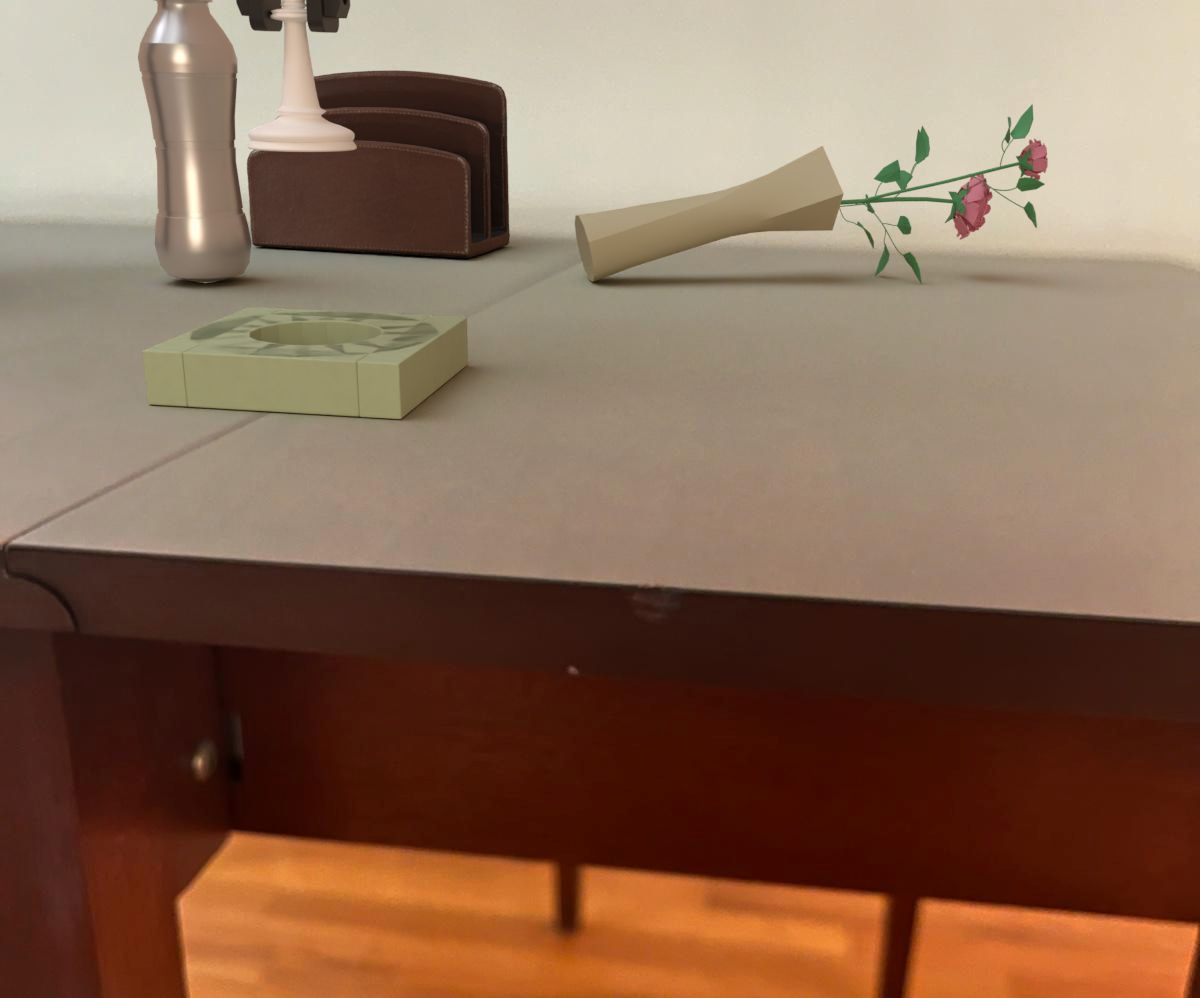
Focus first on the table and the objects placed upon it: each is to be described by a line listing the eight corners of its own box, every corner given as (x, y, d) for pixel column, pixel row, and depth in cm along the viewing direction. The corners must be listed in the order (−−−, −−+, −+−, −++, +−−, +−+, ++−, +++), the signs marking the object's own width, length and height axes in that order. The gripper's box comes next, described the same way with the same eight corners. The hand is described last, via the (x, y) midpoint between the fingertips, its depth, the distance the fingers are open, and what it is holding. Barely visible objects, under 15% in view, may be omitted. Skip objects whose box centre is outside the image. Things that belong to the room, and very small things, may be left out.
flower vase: (601, 371, 103) (1012, 265, 108) (627, 355, 91) (1089, 236, 95) (563, 221, 102) (980, 120, 106) (583, 185, 90) (1054, 72, 94)
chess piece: (334, 153, 58) (320, -102, 55) (229, 150, 59) (209, -102, 55) (371, 147, 63) (361, -89, 59) (273, 144, 64) (257, -89, 60)
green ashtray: (147, 404, 60) (141, 350, 59) (252, 353, 71) (248, 306, 70) (401, 419, 59) (399, 363, 58) (468, 364, 70) (467, 316, 69)
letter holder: (306, 235, 120) (295, 68, 115) (511, 246, 116) (510, 72, 110) (250, 247, 112) (236, 67, 106) (470, 260, 107) (466, 72, 101)
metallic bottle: (138, 283, 93) (103, -32, 85) (204, 271, 98) (177, -25, 91) (210, 291, 90) (181, -33, 83) (274, 278, 96) (252, -26, 88)
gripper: (54, -471, 50) (109, 26, 57) (407, -485, 48) (422, 32, 55) (147, -406, 57) (187, 31, 64) (459, -415, 55) (467, 36, 62)
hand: (295, 29), depth 59 cm, fingers closed on chess piece, 2 cm apart
